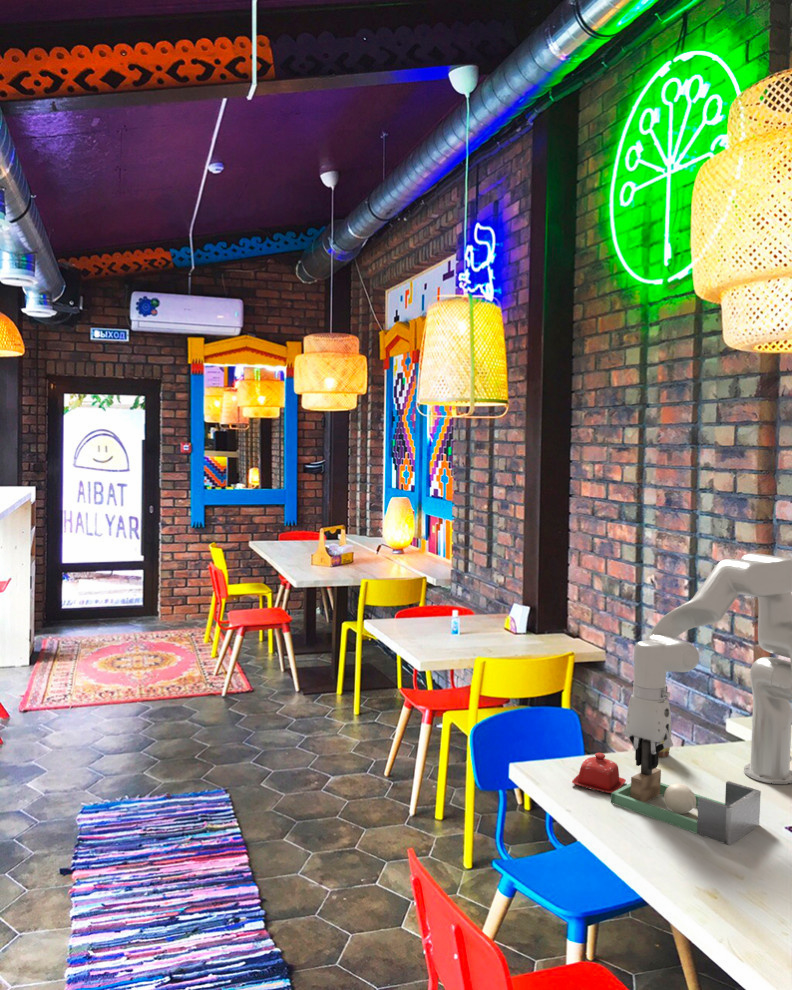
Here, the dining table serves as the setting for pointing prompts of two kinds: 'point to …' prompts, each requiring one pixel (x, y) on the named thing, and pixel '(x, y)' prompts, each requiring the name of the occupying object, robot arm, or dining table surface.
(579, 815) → the dining table surface
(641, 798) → the striker
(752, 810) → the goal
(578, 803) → the dining table surface
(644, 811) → the frame
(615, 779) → the butter dish
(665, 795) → the cream round ball
